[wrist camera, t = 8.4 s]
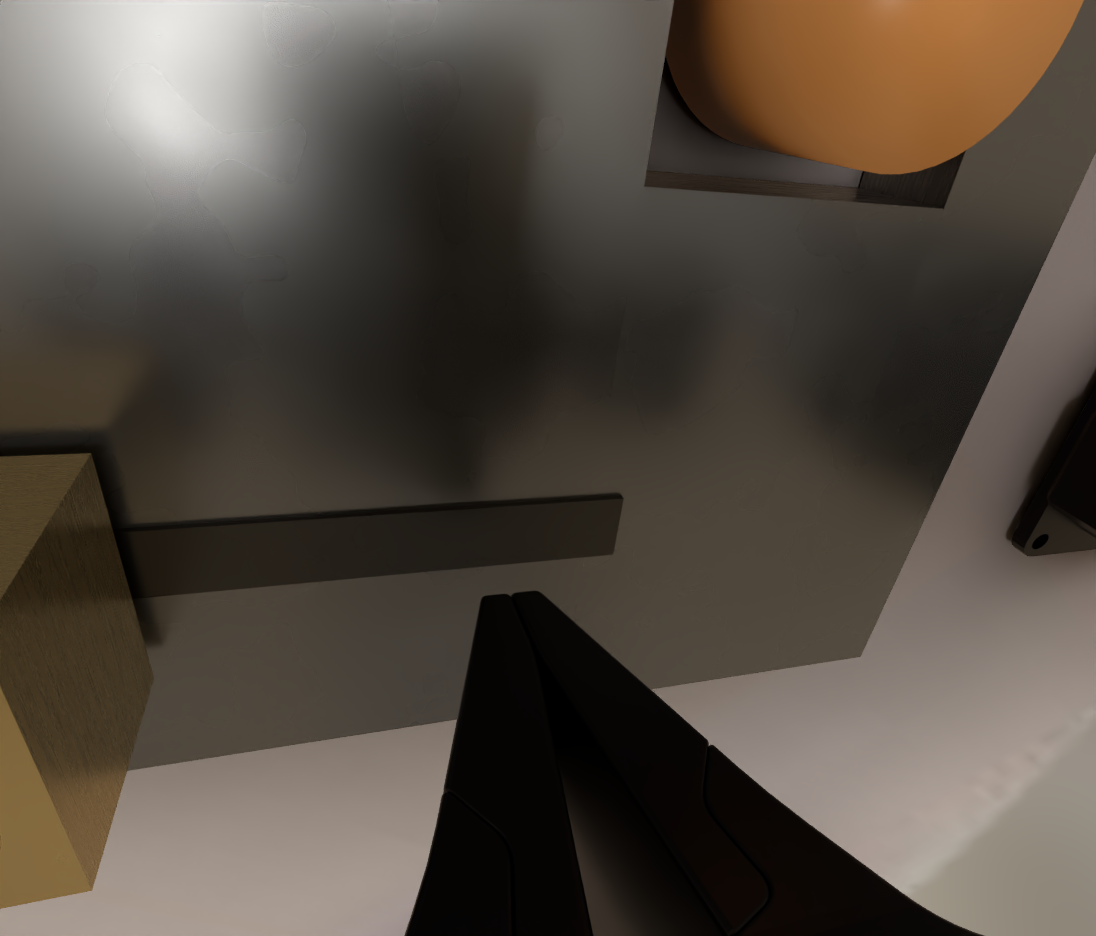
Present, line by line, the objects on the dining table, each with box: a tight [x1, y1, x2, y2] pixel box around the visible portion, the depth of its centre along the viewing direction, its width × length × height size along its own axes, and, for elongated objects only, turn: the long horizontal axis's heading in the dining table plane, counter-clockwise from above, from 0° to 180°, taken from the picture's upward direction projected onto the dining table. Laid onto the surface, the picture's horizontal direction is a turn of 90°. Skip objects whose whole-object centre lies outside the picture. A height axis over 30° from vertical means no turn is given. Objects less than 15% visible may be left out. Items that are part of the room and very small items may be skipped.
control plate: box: [0, 0, 1096, 771], centre depth 9 cm, size 22×17×2 cm
